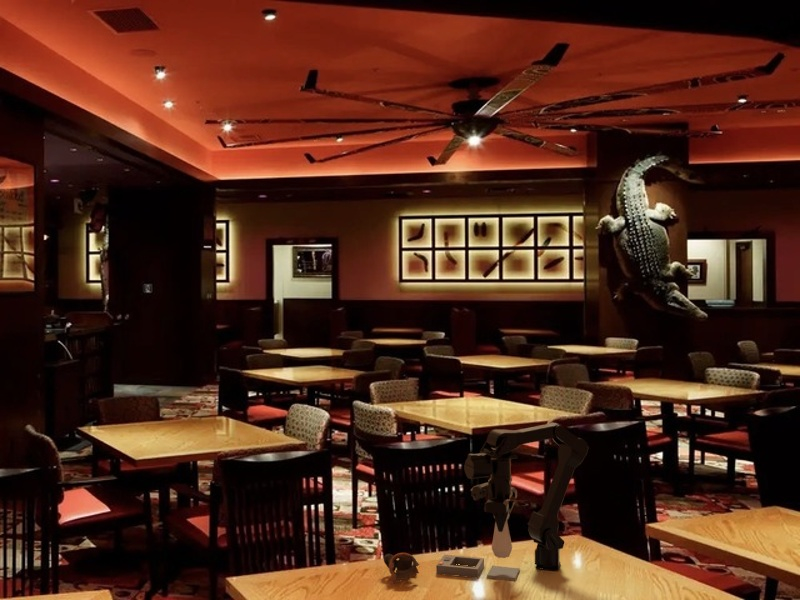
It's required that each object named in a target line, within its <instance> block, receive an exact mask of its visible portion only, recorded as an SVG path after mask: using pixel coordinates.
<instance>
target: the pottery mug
mask: <svg viewBox="0 0 800 600" xmlns="http://www.w3.org/2000/svg"><path fill="white" fill-rule="evenodd" d="M383 562H384V564H385V566H386V567H387V568H388V571H389V573H390V577H389V578H390V579H389V580H390V582H391V584H393V585H395V584H396V582H397V583H398V582H402V581H407V580H410V578H413V577H414V576H417V575H418V574H419V573H420V572H419V569H418V566H420V564H419V562H418V561H417V559H416V558H415V556H413V555H411V554H410V553H407V552H398V553H396V554H394V555H393V554H391V553H387V554H385V555H384V557H383Z"/></svg>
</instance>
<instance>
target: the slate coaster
mask: <svg viewBox="0 0 800 600" xmlns="http://www.w3.org/2000/svg"><path fill="white" fill-rule="evenodd" d="M518 573H520V567H508V566H498V565H492V566H491V567H490V569H489V571H488V573H487V574H486V579H492V578H496V579H495V580H502V579H503V580H504V581H512V582H513V581H514V582H515V580H517V578H518V576H519V574H518ZM503 580H502V581H503Z"/></svg>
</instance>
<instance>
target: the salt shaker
mask: <svg viewBox="0 0 800 600" xmlns="http://www.w3.org/2000/svg"><path fill="white" fill-rule="evenodd" d="M493 518H494V519H495V517H494V516H493ZM507 519H508V520H509V519H510V515H509V514H508V517H507ZM508 520H506V523H505V526H504V528H503V531H502V532H499V531H498V528H497V524H496V522H495V523H494V531H493V537H492V543H491V551H492V552H493V555H494V557H496V558H498V559H500V558H502V559H505V558H508V557H511V556H510V555H511V553H512V551H513V545H512V540H511V535H510V530H509V529H510V528H509V524H508Z"/></svg>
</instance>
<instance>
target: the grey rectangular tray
mask: <svg viewBox="0 0 800 600" xmlns="http://www.w3.org/2000/svg"><path fill="white" fill-rule="evenodd" d="M456 564H457V565H456ZM458 564H460V565H468V566H476V567H468V566H458ZM455 565H456V566H455ZM483 567H484V568H485V557H473V556H464V555H463V556H462V555H452V554H451V555H450V554H443V556H441V558H440V559H439V561H438V562H437V563H436V567H435V568H436V571H435V573H436V575H442V574H443V575H444V574H445V575H444V576H452V575H459V576H458V577H462V576H467V577H466V578H472V577H477V578H476V579H478V578H479V577H480V575H481V573H482V571H483V570H484V568H483ZM482 569H483V570H482ZM479 574H480V575H479ZM443 575H442V576H443ZM478 576H479V577H478Z"/></svg>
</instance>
